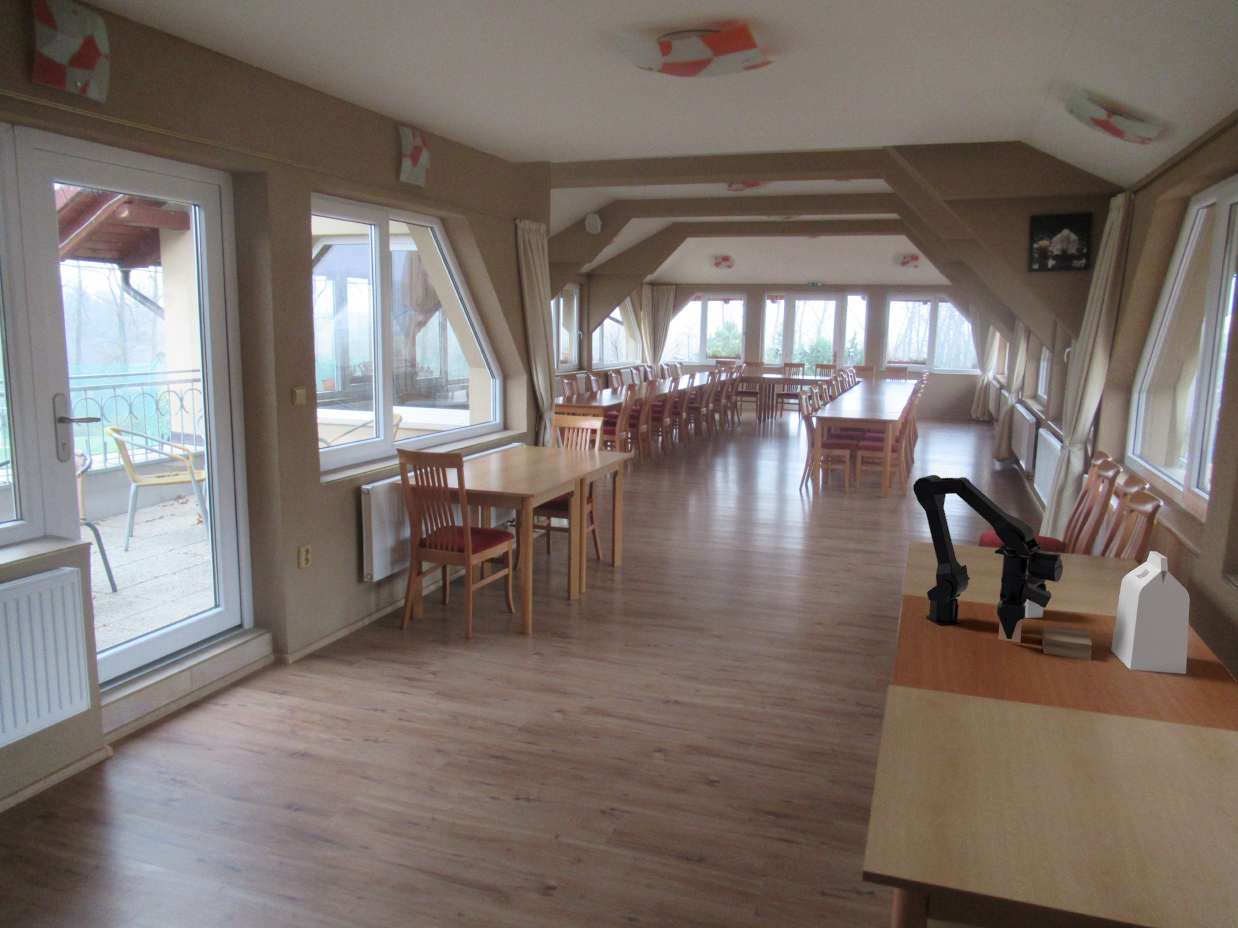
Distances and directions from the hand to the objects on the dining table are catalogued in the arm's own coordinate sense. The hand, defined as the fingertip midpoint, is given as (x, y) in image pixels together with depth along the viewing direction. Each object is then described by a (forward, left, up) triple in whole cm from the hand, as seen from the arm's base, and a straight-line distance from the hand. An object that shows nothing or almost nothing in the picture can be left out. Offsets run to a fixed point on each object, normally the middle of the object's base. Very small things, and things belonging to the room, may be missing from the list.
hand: (1009, 632), depth 214 cm
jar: (+17, +15, -1) cm, 23 cm away
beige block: (+8, -10, -2) cm, 13 cm away
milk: (+21, -21, -2) cm, 30 cm away
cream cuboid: (0, 0, -1) cm, 1 cm away
